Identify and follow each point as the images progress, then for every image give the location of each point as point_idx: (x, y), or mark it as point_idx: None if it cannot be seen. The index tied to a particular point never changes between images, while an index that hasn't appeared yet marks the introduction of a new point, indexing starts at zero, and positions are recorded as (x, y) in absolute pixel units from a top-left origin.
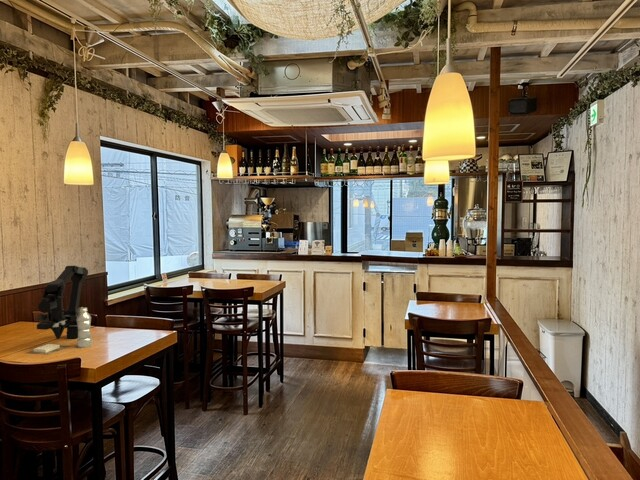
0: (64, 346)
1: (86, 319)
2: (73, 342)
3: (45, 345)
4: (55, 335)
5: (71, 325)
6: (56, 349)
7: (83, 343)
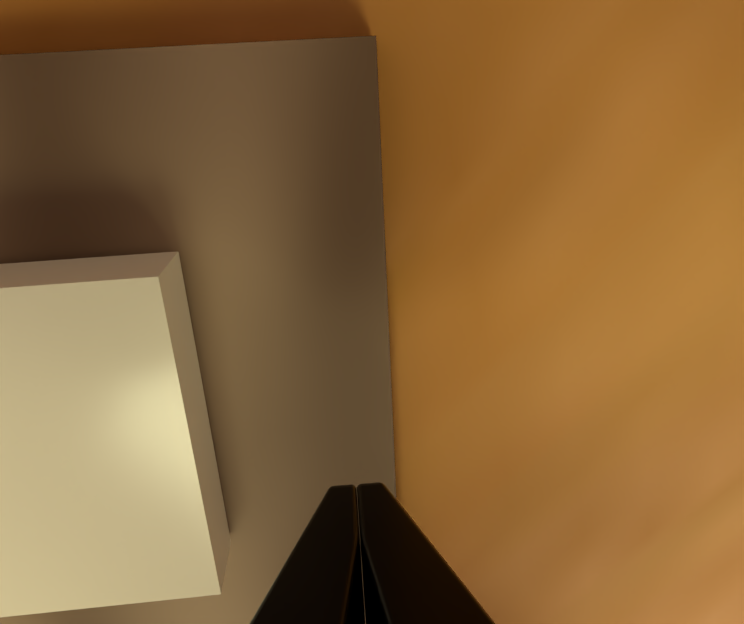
0: None
1: None
2: (698, 379)
3: (27, 340)
4: (283, 583)
5: None
6: None
7: None
